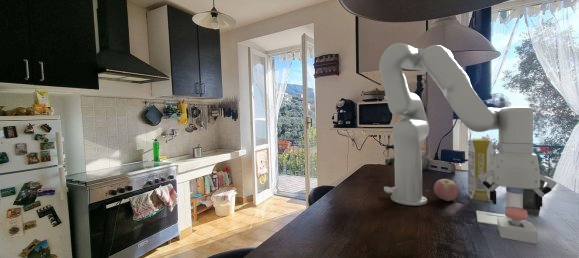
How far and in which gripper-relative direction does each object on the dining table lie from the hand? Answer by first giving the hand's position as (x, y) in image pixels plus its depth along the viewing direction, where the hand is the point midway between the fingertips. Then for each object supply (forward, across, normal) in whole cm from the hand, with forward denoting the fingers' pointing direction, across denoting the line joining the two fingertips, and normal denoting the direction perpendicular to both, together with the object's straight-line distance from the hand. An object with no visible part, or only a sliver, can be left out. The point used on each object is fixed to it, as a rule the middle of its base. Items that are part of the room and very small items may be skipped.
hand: (514, 205), depth 75 cm
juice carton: (+5, -7, +22) cm, 24 cm away
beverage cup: (+5, +5, +11) cm, 13 cm away
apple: (+5, -18, +13) cm, 23 cm away
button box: (+5, -1, -10) cm, 11 cm away
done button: (+3, -1, -10) cm, 11 cm away
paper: (+5, -3, 0) cm, 6 cm away
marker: (+5, 0, 0) cm, 5 cm away
